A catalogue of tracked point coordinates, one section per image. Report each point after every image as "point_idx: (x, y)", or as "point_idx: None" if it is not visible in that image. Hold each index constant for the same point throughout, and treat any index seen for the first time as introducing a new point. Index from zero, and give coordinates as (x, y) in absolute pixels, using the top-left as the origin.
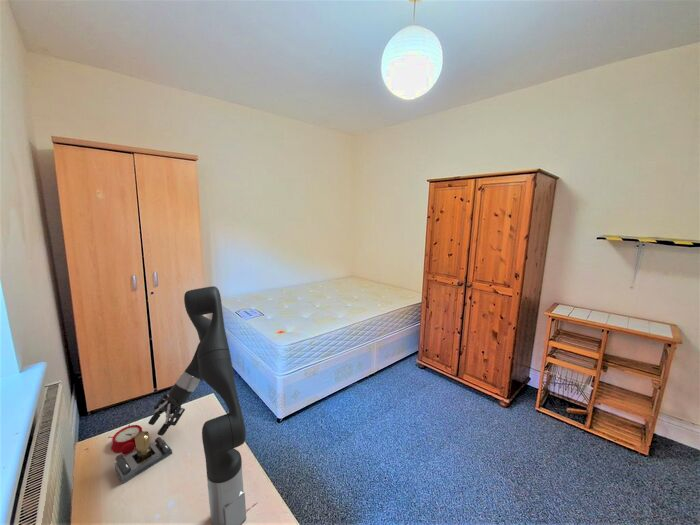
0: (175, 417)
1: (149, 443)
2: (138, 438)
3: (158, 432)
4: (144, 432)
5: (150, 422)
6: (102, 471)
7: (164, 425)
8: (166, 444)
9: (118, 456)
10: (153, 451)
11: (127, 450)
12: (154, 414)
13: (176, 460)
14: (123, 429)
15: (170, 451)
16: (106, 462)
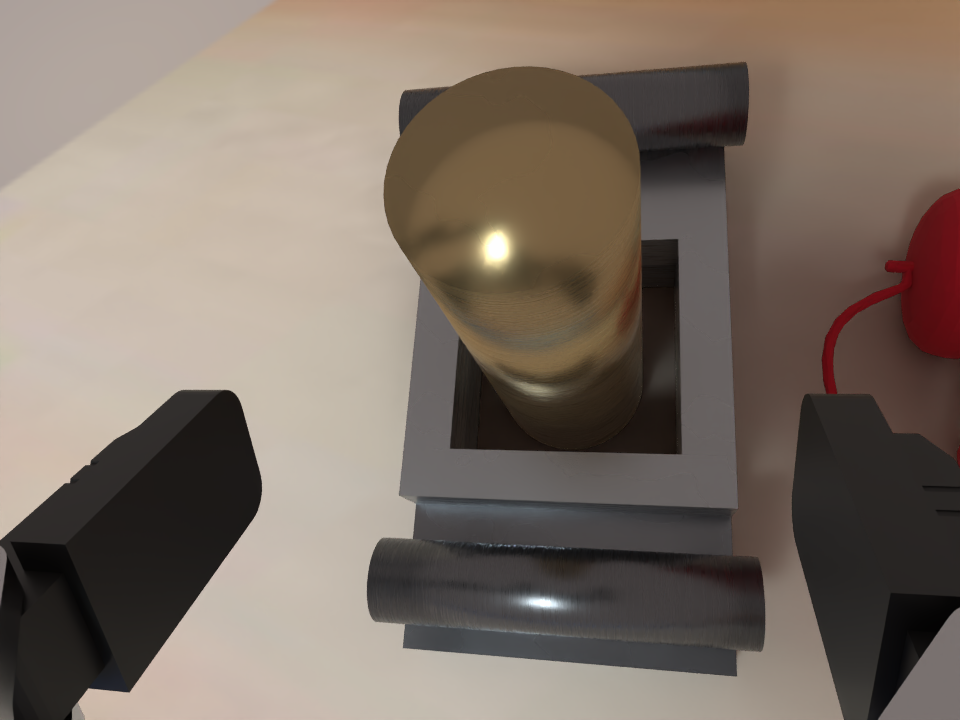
0: None
1: (478, 355)
2: (471, 114)
3: (182, 399)
4: (560, 238)
5: (810, 432)
6: (819, 61)
7: (41, 529)
8: (490, 623)
9: (717, 73)
10: (543, 455)
11: (912, 259)
12: (919, 565)
13: (272, 618)
14: None
15: (406, 624)
16: (949, 104)
